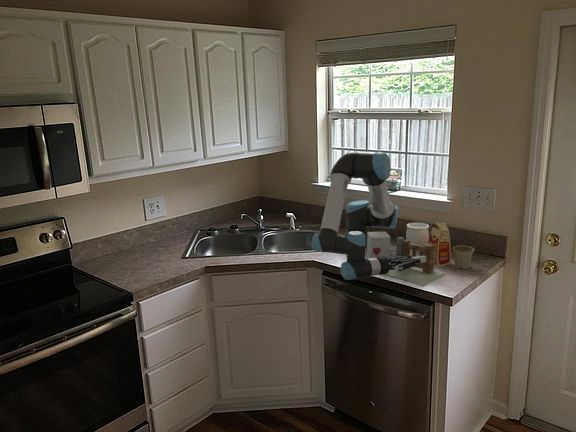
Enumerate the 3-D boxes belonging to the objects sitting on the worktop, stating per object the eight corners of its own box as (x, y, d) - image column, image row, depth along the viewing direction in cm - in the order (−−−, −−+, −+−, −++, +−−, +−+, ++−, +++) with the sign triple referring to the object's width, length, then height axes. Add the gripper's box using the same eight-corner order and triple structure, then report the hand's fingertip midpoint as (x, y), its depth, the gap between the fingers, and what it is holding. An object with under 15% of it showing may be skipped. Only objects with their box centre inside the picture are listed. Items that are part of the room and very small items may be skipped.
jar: (425, 251, 240) (427, 222, 236) (429, 257, 230) (431, 228, 226) (404, 250, 241) (405, 222, 237) (407, 257, 231) (408, 228, 227)
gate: (402, 266, 216) (402, 241, 213) (407, 263, 219) (408, 238, 216) (429, 273, 207) (431, 246, 204) (435, 270, 210) (436, 244, 207)
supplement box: (370, 268, 219) (370, 237, 215) (366, 261, 227) (366, 231, 224) (390, 267, 219) (390, 236, 215) (385, 261, 228) (385, 230, 224)
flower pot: (446, 266, 219) (448, 248, 216) (459, 261, 224) (460, 244, 222) (465, 272, 211) (466, 253, 209) (477, 267, 217) (478, 248, 215)
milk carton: (438, 267, 218) (440, 225, 213) (423, 261, 226) (425, 220, 221) (452, 263, 222) (455, 221, 217) (437, 257, 230) (439, 217, 225)
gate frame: (380, 274, 211) (380, 244, 208) (402, 263, 224) (403, 234, 220) (423, 286, 197) (424, 254, 193) (444, 274, 209) (446, 244, 206)
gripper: (369, 269, 206) (416, 262, 213) (384, 280, 194) (433, 271, 202) (369, 253, 204) (416, 246, 212) (385, 262, 192) (434, 254, 200)
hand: (425, 258), depth 207 cm, fingers closed
